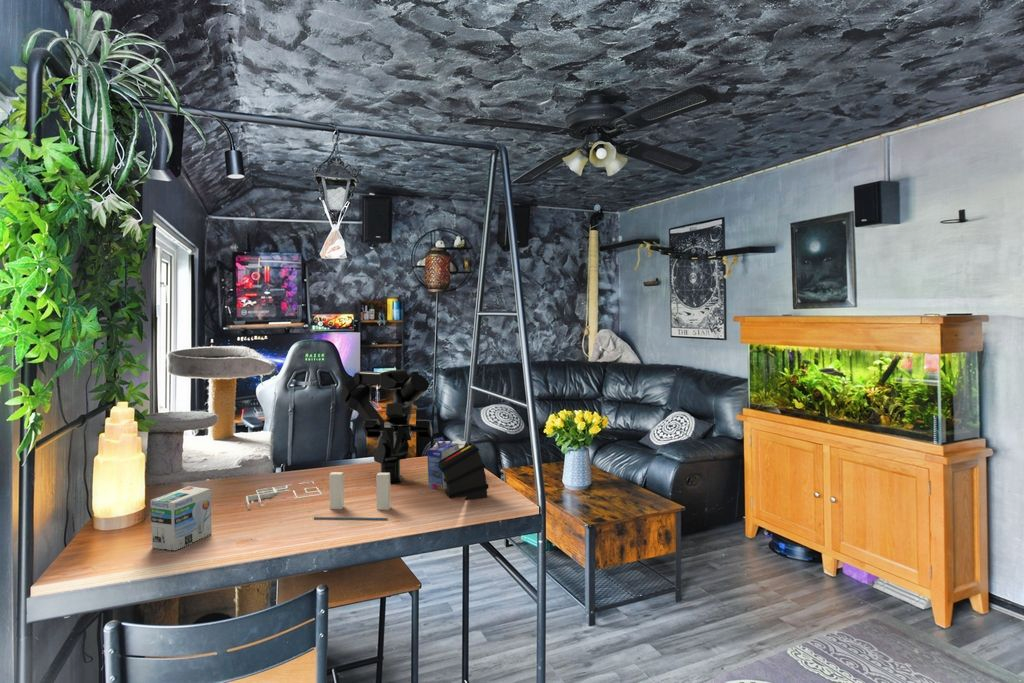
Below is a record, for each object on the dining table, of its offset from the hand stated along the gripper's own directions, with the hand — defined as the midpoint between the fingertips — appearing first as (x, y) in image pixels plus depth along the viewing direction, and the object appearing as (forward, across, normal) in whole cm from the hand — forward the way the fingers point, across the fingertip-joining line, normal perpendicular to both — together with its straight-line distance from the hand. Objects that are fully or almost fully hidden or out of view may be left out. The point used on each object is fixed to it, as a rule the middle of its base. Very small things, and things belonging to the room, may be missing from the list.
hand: (393, 455), depth 156 cm
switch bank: (+17, -6, +1) cm, 18 cm away
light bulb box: (+29, -41, -11) cm, 52 cm away
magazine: (+8, +19, +10) cm, 23 cm away
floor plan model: (+10, -29, +9) cm, 32 cm away
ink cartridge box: (+1, +12, +17) cm, 21 cm away
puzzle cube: (-7, +12, +25) cm, 29 cm away
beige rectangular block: (+15, 0, +1) cm, 15 cm away
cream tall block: (+15, -12, +1) cm, 19 cm away
